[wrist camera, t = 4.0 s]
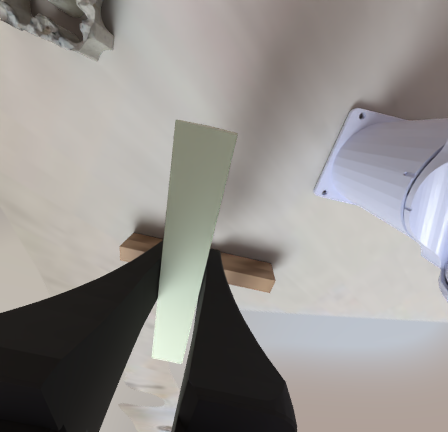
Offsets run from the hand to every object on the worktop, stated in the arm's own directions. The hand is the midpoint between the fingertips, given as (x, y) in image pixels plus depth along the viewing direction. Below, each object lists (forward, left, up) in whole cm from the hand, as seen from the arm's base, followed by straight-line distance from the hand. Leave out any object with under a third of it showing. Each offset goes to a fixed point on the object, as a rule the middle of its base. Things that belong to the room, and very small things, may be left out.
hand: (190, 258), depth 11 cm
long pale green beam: (0, 0, -5) cm, 5 cm away
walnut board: (0, +8, -10) cm, 13 cm away
